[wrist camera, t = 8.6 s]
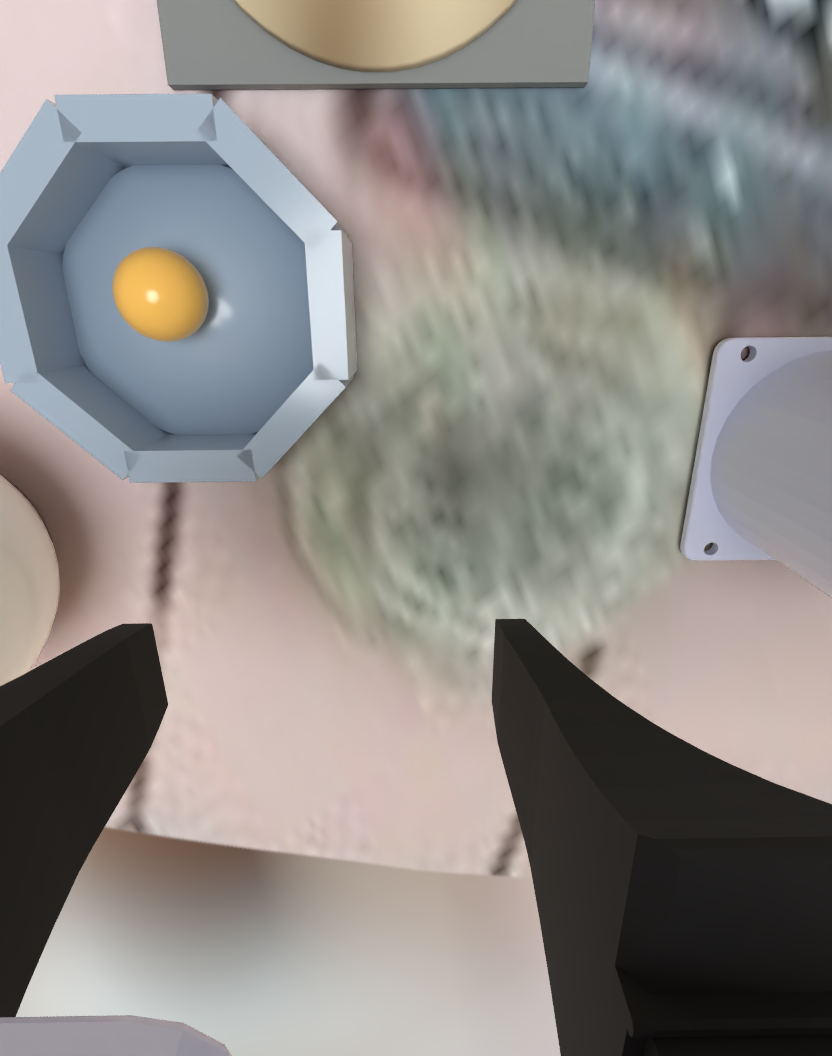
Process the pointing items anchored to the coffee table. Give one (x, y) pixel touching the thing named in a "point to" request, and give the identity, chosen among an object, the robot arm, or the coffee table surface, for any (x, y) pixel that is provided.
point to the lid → (375, 29)
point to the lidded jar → (24, 583)
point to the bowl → (169, 288)
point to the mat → (265, 63)
